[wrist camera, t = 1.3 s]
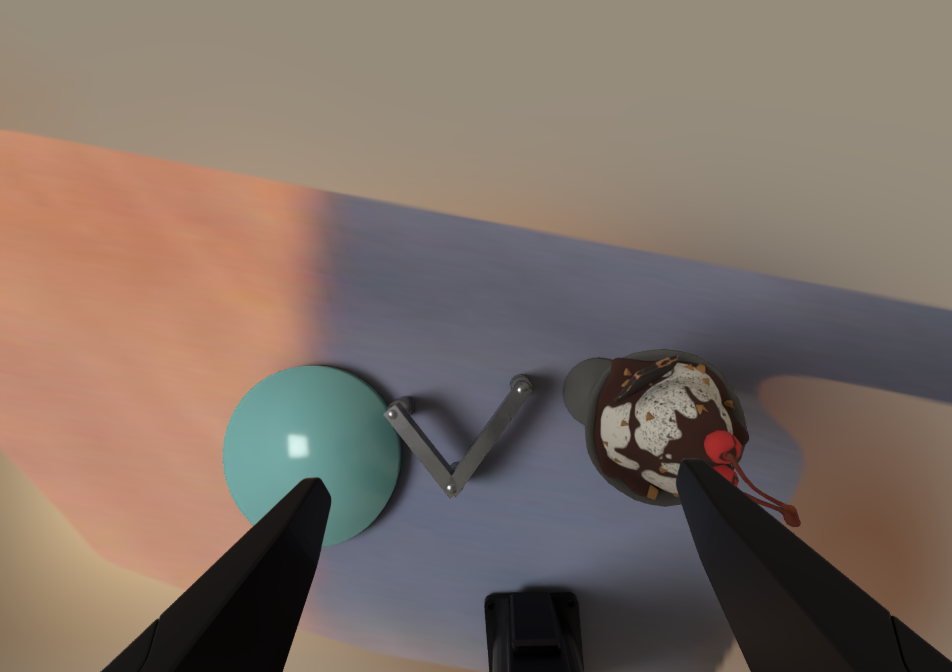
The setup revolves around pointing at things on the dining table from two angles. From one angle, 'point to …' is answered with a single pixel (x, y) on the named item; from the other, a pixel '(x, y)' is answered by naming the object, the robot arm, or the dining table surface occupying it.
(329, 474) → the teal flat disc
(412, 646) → the dining table surface
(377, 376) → the dining table surface
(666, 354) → the sundae
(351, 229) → the dining table surface
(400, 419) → the jointed flat metal bars
